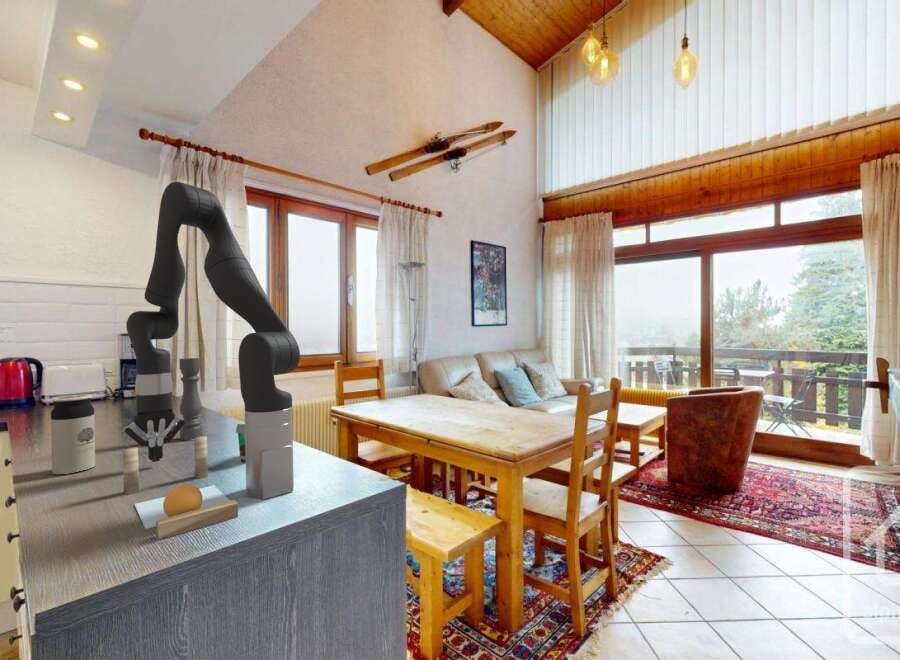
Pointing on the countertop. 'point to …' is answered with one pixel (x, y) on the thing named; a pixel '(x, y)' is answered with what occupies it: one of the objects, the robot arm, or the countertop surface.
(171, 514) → the ball
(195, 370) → the candle holder
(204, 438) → the right post
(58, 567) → the countertop surface
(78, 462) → the travel mug
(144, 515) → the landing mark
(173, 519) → the wall
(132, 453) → the left post
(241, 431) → the food container
